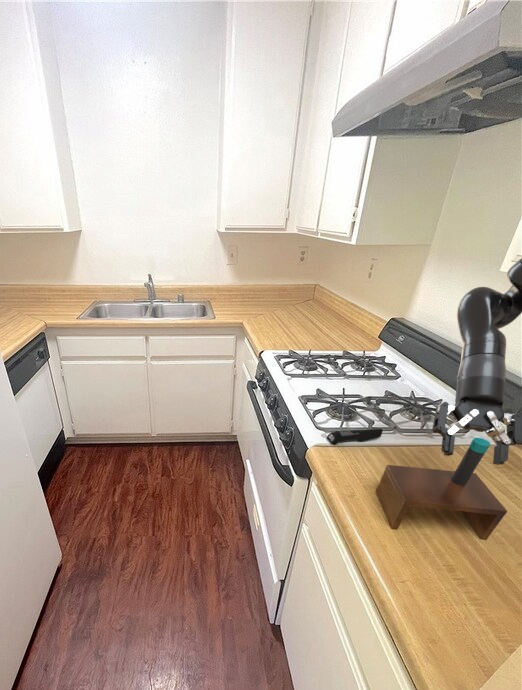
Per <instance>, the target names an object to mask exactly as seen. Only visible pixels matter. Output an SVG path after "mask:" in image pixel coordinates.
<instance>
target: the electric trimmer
mask: <svg viewBox="0 0 522 690" xmlns="http://www.w3.org/2000/svg"><path fill="white" fill-rule="evenodd" d="M382 435H383V429H382V428H371V429H370V428H369V429H353V430H352V429H351V430H335V431H332V432H330V433H329V434H328V435H326V441H327V442H328V443H329V444H330V443H331V444H330V445H337V444H338V443H342V442H351V441H358V442H364V441H369V440H374V439H378V438H381V437H382Z"/></svg>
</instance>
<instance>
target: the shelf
mask: <svg viewBox="0 0 522 690" xmlns="http://www.w3.org/2000/svg"><path fill="white" fill-rule="evenodd" d="M455 471H456V470H448V469H447V470H445V469H435V468H427V467H425V468H424V467H415V466H404V465H394V464H386V467H385V469H384V471H383V474H382V476H381V478H380V480H379V483H378V485H377V488H376V490H375V494H376V496H377V498H378V501H379V503H380V505H381V507H382V510H383V512H384V514H385V517H386V519H387V522H388V524H389V526H390V527H391V528H390V529H391V530H399V528H400V526H401V524H402V522H403V520H404V518H405V516H406V515H407V512H408V510H409V508H410V507H411V506H412V507H419V508H420V507H421V508H428V509H429V508H430V509H438V510H449V511H455V512H456V511H457V512H461V514H462V515H463V516H464V517H465V519H466V521H467V522H468V523H469V525H470V526H471V527H472V529H473V531H474V532H475V534H476V535H477V537H478V538H479V539H480V540H484V541H487V540H488V539H489V538H490V536H491V535H492V533H493V532H494V531H495V529H496V528H497V526H498V525H499V524H500V522H501V521H502V519H504V517H505V515H507V514H508V510H507V508H506V507H505V506H504V505H503V504H502V502H500V501H499V499H498V498H497V496H495V494H494V493H493V492H492V491H491V489H490V488H489V487H488V486H487V485H486V484H485V482H484V481H483V480H482V479H481V478H480V477H479V475H478V474H477V473H476V472H473V474H472V475H471V477H470V479H469V480H468V482H467V483H466V485H464V486H460V485H457V484H455V483H454V482H452V480H451V478H452V476H453V474H454V473H455Z"/></svg>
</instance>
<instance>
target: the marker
mask: <svg viewBox="0 0 522 690" xmlns="http://www.w3.org/2000/svg"><path fill="white" fill-rule="evenodd" d="M490 446H491V442H490V441H489V440H487V439H485V438H482V437H474V438H472V440H471V442H470V443H469V446H468V448H467V450H466V451H465V453H464V455H463V457H462V458H461V460H460V462H459V464H458V466H457V468H456V469H455V470H454V471H455V473H454V474H453V476H452V478H451V480H452V482H454V483H455V484H457V485H460V486H464V485H466V483H467V482H468V480H469V479H470V477H471V475H472V474H473V473H475V471H476V469H477V467H478V466H479V464H480V462H481V460H482V459H483V457H484V455H485V454H486V453H487V452H488V450H489V448H490Z"/></svg>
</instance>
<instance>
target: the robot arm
mask: <svg viewBox="0 0 522 690" xmlns="http://www.w3.org/2000/svg"><path fill="white" fill-rule="evenodd" d="M506 277H507V280H508V281H509V283H510V284H511V286H510V288H509V289H508V290H507V291H506V292H504V293H503V292H500V291H498V290H495V289H494V288H491V287H488V286H477V287H475V288H472V289H470V290H469V291H467V293H465V294H464V295H463V297H462V298H461V299H460V300H459V303H458V305H457V309H456V322H457V327H458V332H459V336H460V340H461V344H462V346H461V354H460V355H461V356H460V362H459V363H460V364H459V368H458V372H457V376H456V389H455V400H454V402H455V403H454V405H453V404H449V403H448V402H447V401H443V402H442V403H440V404H438V405H437V406H436V407H435V413H434V418H433V424H432V429H431V430H432V433H435V434H438V435H440V436H441V438H442V440H441V453H443V455H444V456H446V457H450V456H452V455H454V450H455V442H456V435H454V434H456V433H457V432H458V431H459V430H461V429H462V428H463V429H464V430H465V431H475V432H479V433H485V434H486V436H487V437H489V438H491V440H492V441H493V442H494V444H495V445H494V448H493V459H492V464H493V465H496V466H500V465H504V464H505V463H506V462H507V461H508V460H509V450H510V446H513V445H517V444H521V443H522V413H521V412H515V413H506V412H504V410H503V405H504V400H505V389H506V375H507V367H506V353H507V337H506V335H505V334H504V333H503V331H501V330H500V329H502V328H504V327H507V326H508V325H510V324H511V323H513V322H514V321H515V320H516V319H517V318H518V317H520V316H521V314H522V257H521V258H519V259H518V260H517V261H516V262H515V263H514V264H513V265H512V266H511V267H509V269H507V273H506ZM451 413H452V415H453V416H454V418H455V419H456V420H455V421H454V422H453V423H451V424H450V425H449V426H448V427H446V424H447V418H448V415H450V414H451ZM502 420H503V424H504V425H506V428H504V425H503V424H501V421H502Z"/></svg>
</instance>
